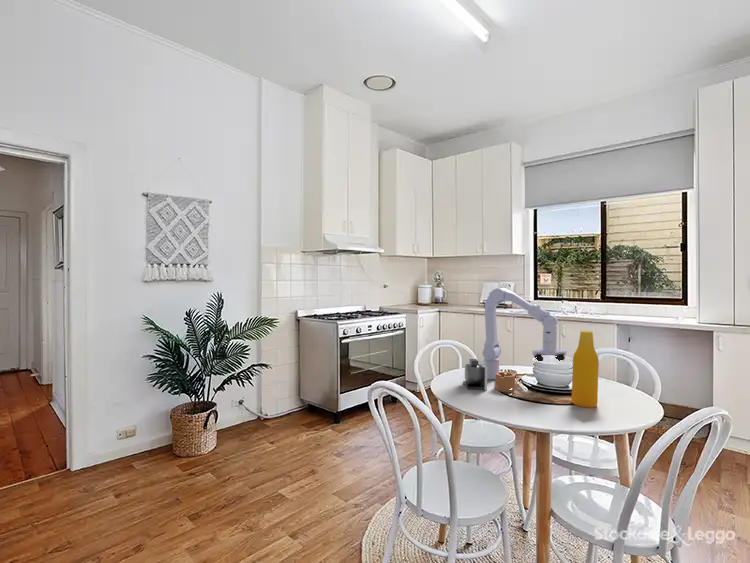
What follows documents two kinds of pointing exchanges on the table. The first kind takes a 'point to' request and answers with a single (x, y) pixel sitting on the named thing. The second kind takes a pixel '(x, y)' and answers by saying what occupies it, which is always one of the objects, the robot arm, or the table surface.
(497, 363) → the robot arm
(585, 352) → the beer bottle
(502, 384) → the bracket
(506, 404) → the table surface
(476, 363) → the motor
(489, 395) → the table surface
